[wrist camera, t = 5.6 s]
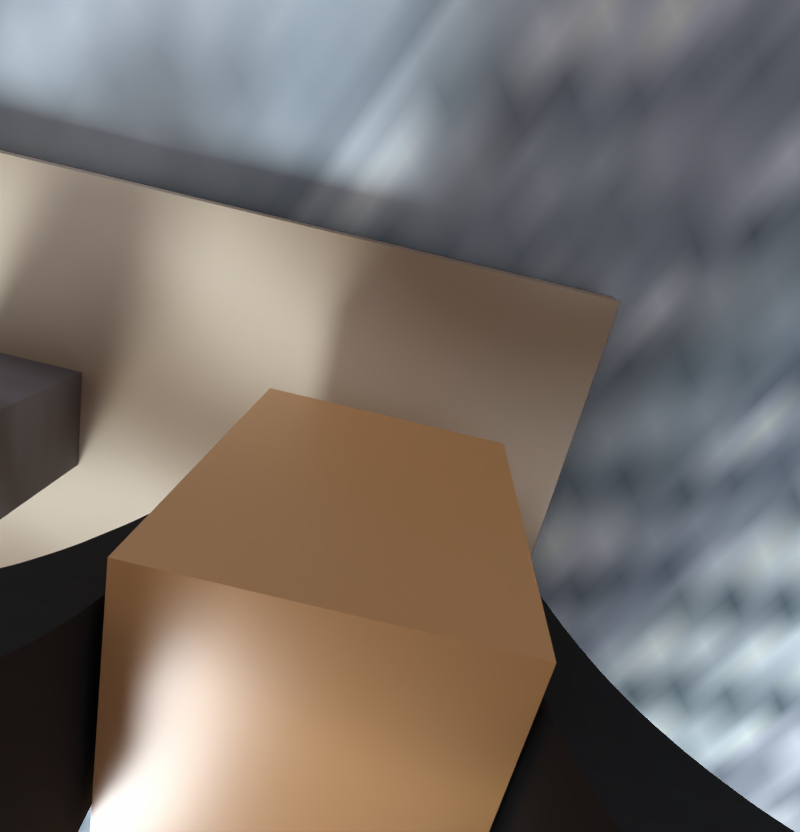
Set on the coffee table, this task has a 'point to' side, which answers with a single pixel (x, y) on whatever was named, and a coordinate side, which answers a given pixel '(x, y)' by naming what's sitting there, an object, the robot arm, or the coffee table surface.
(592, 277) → the coffee table surface
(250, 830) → the orange rectangular block
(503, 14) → the coffee table surface
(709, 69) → the coffee table surface
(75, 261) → the post board
